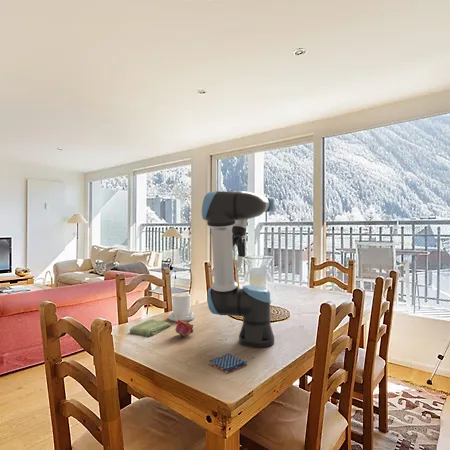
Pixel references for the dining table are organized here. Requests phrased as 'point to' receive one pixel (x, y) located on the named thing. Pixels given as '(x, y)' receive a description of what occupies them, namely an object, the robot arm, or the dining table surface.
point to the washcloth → (149, 327)
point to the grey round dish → (188, 318)
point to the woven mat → (228, 363)
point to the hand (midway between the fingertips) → (232, 265)
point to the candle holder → (181, 304)
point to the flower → (183, 328)
